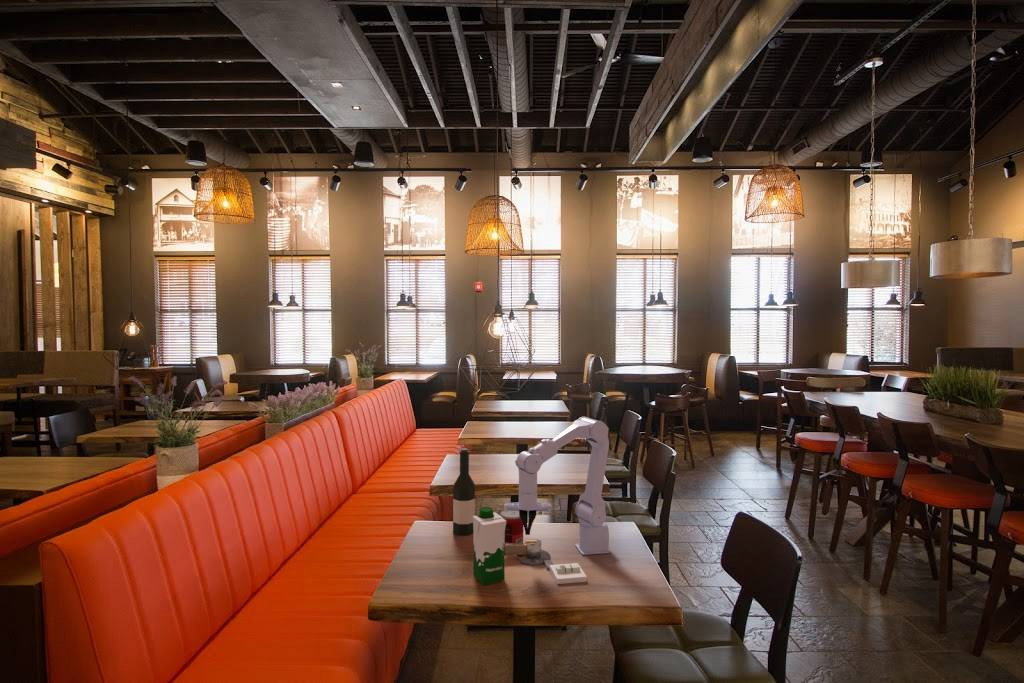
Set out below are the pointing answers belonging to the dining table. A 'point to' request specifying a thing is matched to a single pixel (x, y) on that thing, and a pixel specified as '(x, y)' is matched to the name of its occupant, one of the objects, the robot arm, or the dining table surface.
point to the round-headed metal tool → (524, 548)
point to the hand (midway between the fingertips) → (527, 533)
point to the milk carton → (488, 546)
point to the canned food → (513, 527)
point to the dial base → (536, 560)
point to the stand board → (567, 573)
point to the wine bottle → (463, 498)
